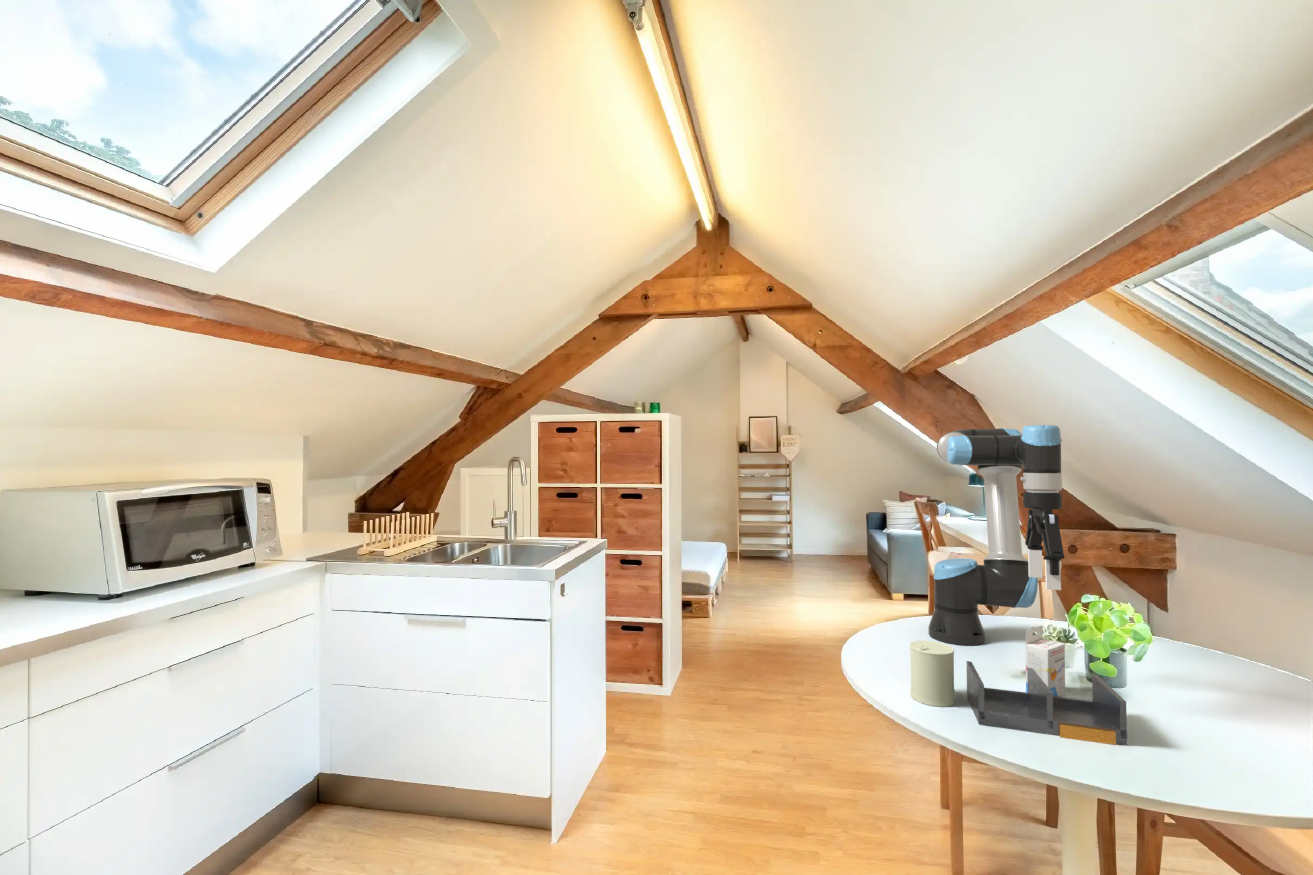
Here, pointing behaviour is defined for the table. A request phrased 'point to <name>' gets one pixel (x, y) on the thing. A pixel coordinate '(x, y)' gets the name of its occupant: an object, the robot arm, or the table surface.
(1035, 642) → the ink box
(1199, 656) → the table surface
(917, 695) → the can
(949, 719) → the table surface
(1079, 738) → the rack
